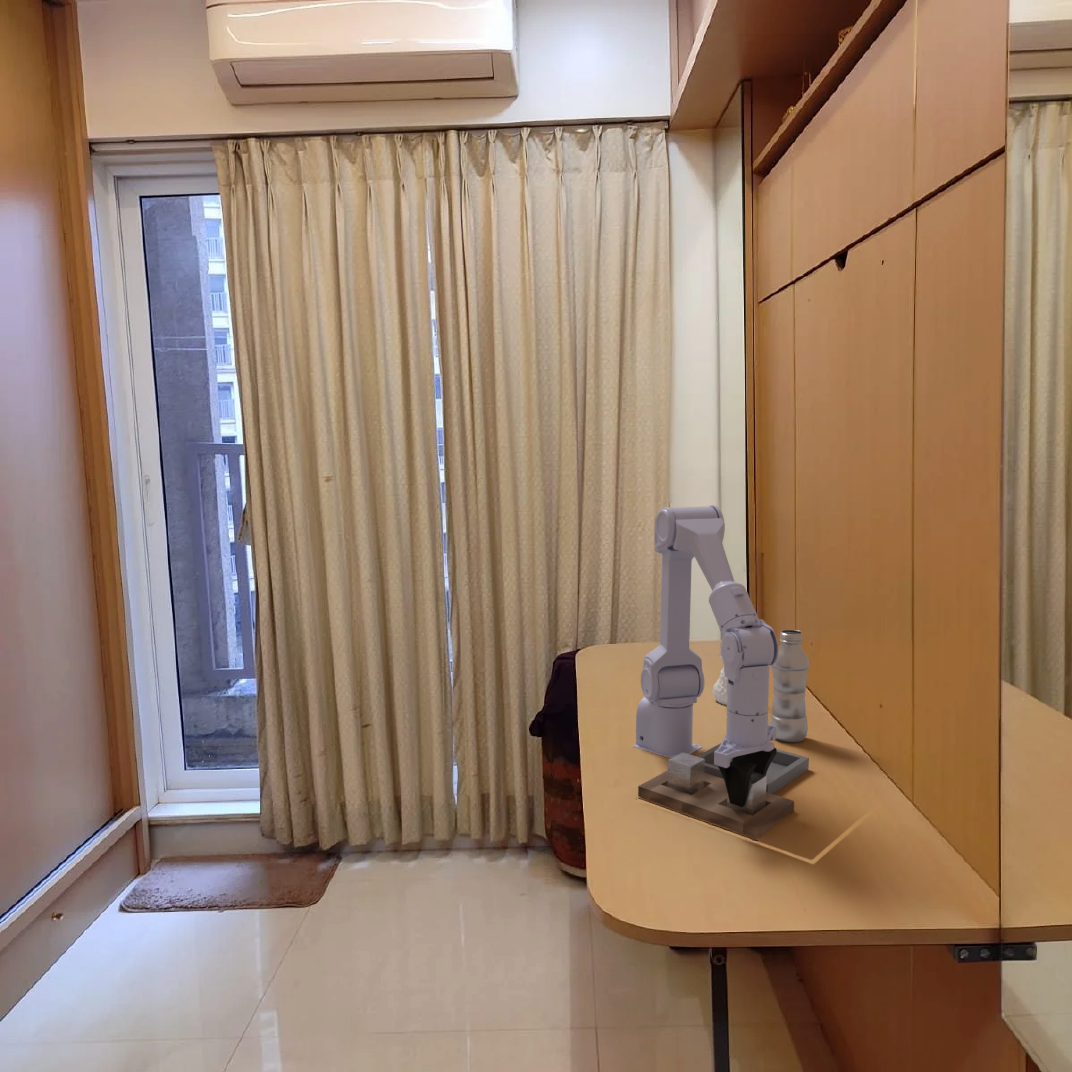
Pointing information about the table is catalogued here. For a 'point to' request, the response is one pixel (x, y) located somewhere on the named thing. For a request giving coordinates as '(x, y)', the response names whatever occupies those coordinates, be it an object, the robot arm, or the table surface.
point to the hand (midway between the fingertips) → (744, 799)
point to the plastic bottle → (790, 688)
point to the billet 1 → (686, 773)
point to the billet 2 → (753, 795)
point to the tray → (778, 773)
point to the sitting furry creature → (721, 686)
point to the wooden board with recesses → (716, 805)
